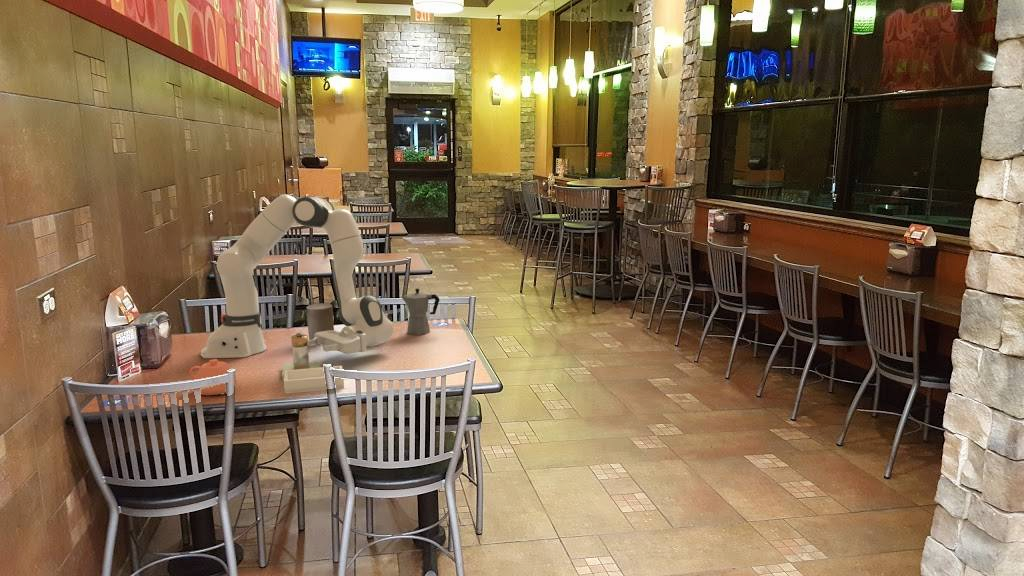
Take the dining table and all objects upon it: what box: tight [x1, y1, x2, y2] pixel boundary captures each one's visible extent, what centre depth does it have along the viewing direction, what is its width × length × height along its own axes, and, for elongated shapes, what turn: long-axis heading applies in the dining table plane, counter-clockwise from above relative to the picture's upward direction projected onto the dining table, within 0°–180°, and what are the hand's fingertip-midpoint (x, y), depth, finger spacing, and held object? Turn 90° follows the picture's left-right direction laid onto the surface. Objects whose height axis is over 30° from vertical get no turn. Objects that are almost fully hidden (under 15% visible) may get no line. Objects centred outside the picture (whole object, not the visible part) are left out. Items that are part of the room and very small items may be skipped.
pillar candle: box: [306, 302, 335, 341], centre depth 269 cm, size 10×10×15 cm
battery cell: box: [290, 332, 310, 370], centre depth 230 cm, size 5×5×12 cm
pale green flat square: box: [281, 361, 321, 381], centre depth 231 cm, size 12×12×2 cm
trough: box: [283, 365, 345, 394], centre depth 219 cm, size 18×11×4 cm, turn 106°
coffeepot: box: [400, 288, 440, 336], centre depth 280 cm, size 15×9×18 cm, turn 88°
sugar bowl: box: [189, 358, 238, 396], centre depth 213 cm, size 12×14×10 cm
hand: (316, 346), depth 234 cm, fingers open, 8 cm apart
